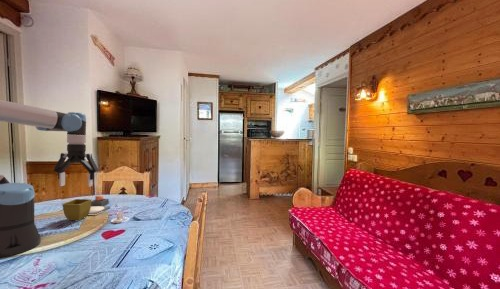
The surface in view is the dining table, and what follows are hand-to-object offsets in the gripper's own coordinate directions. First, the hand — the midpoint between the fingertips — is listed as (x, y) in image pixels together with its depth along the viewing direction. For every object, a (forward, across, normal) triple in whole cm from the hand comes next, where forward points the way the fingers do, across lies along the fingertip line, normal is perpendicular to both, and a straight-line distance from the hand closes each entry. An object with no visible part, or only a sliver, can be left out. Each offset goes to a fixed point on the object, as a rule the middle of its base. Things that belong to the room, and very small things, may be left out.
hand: (76, 186), depth 117 cm
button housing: (+16, +2, -23) cm, 29 cm away
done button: (+14, +2, -23) cm, 27 cm away
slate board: (+16, 0, -12) cm, 20 cm away
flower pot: (+17, -1, 0) cm, 17 cm away
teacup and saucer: (+17, -20, +3) cm, 27 cm away
